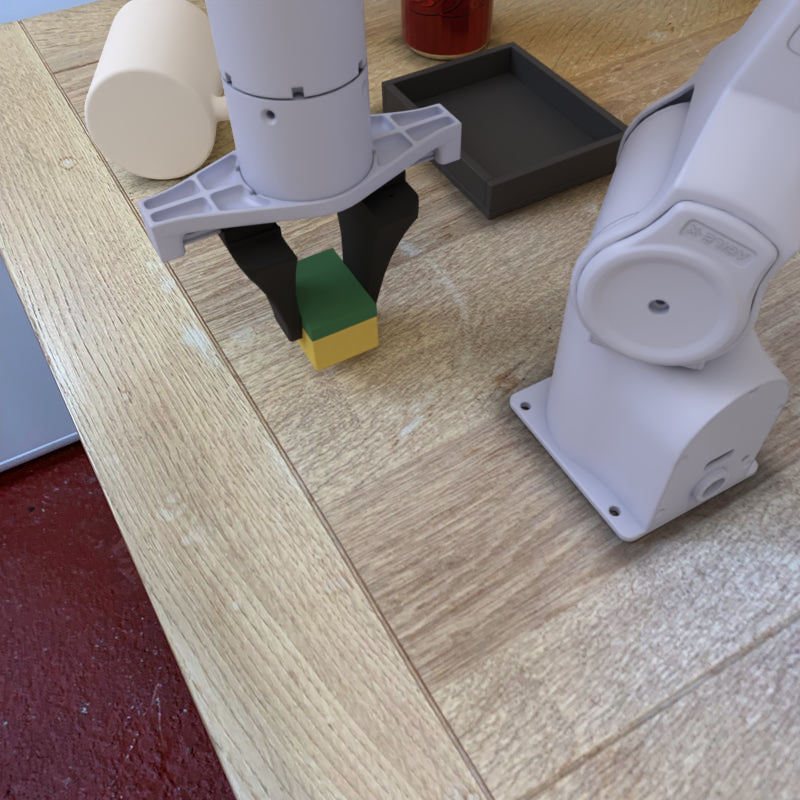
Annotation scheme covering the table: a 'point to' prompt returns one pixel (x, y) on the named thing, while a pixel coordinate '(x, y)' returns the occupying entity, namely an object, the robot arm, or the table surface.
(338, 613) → the table surface
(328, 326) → the sponge
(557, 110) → the tray
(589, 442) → the robot arm
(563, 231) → the table surface
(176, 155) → the mug
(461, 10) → the soda can
